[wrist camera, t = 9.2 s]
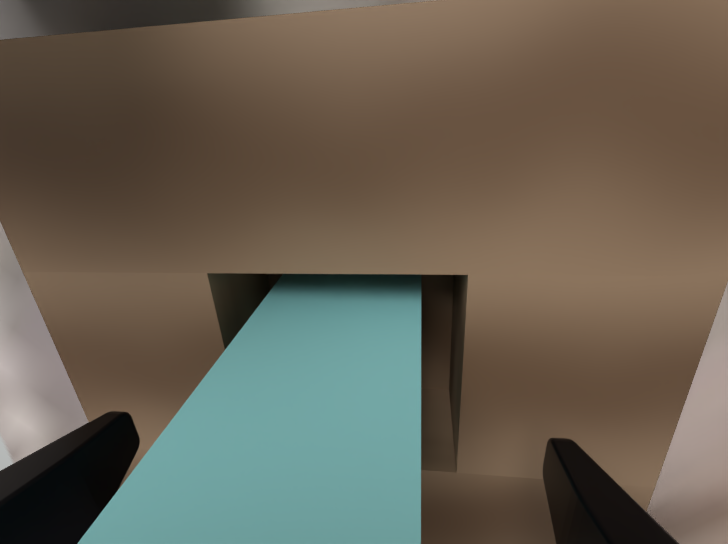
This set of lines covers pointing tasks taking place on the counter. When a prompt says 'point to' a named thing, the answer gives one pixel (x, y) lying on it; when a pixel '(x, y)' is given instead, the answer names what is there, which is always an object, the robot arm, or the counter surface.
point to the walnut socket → (393, 216)
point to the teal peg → (293, 428)
